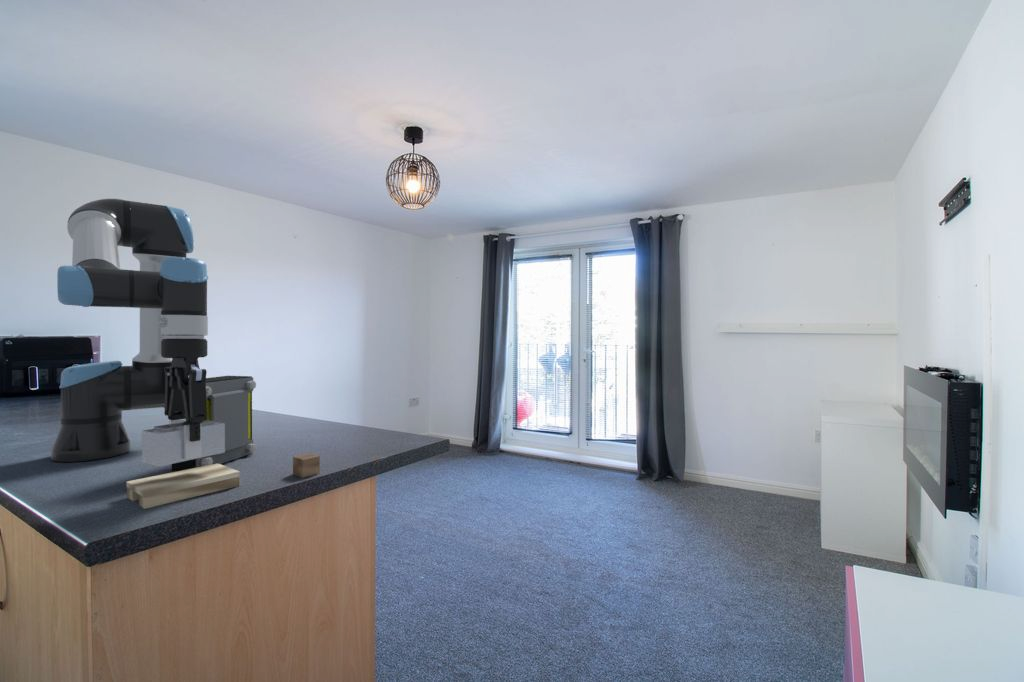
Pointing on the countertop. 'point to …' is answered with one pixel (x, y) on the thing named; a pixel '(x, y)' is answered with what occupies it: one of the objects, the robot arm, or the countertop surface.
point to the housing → (179, 442)
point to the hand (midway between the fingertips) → (185, 454)
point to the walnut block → (306, 465)
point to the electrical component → (228, 418)
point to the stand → (181, 485)
